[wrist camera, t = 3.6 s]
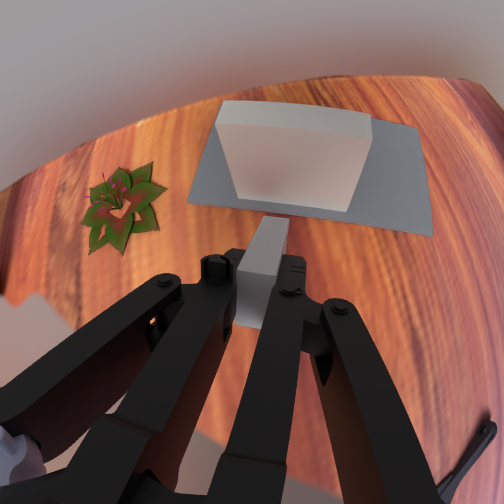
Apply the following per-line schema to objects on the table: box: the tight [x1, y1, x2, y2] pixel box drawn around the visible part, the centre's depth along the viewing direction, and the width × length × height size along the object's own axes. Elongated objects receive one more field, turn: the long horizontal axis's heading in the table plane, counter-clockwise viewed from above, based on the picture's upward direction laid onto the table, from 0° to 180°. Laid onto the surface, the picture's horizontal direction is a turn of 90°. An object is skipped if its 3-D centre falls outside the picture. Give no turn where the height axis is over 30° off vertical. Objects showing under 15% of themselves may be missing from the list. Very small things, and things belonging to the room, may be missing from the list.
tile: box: [215, 101, 373, 212], centre depth 21 cm, size 10×3×10 cm, turn 79°
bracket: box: [436, 419, 497, 504], centre depth 14 cm, size 14×15×3 cm
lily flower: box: [80, 162, 167, 256], centre depth 27 cm, size 12×12×5 cm
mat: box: [187, 104, 433, 237], centre depth 27 cm, size 24×14×1 cm, turn 79°
